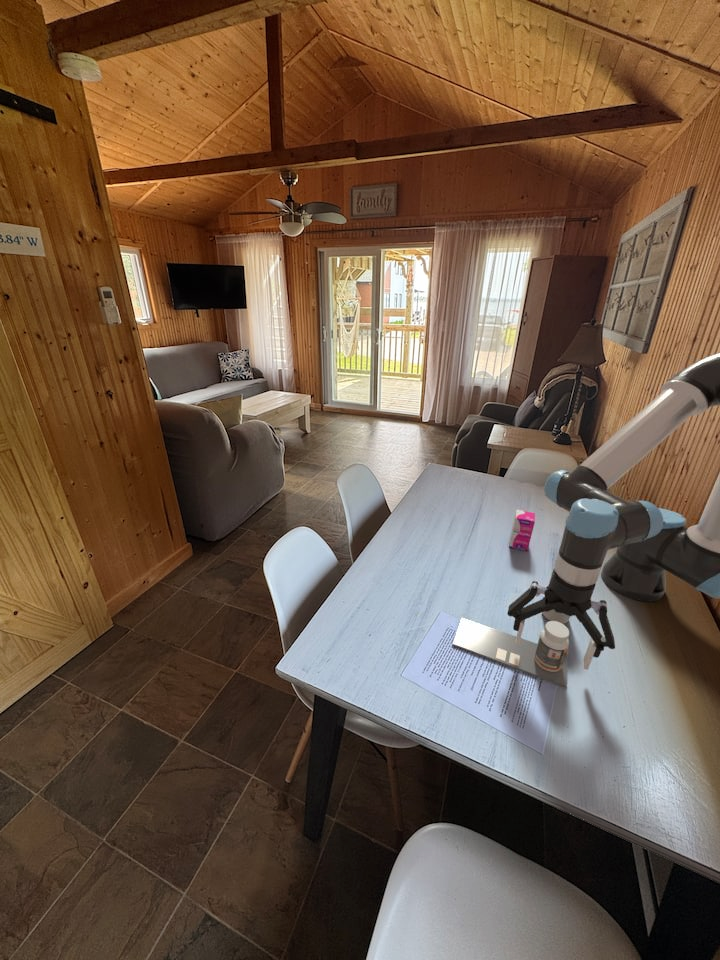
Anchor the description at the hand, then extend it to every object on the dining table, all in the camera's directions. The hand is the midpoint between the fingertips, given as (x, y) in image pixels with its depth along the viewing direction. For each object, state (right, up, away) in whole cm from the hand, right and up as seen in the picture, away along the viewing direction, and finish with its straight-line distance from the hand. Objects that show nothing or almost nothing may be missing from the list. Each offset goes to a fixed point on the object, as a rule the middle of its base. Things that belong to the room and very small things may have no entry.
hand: (550, 652), depth 85 cm
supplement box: (+10, +16, +43) cm, 47 cm away
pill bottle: (0, -3, +1) cm, 3 cm away
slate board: (-7, -2, +5) cm, 9 cm away
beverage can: (+8, +3, +15) cm, 17 cm away
